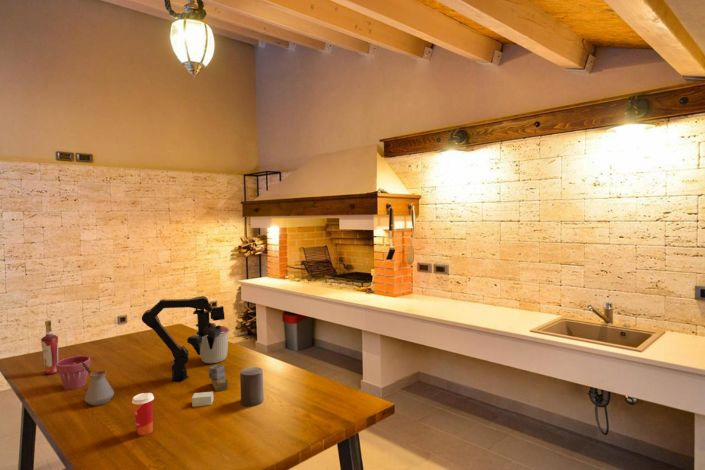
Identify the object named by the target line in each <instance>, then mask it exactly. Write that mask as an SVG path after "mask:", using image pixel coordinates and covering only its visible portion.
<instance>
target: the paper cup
mask: <svg viewBox="0 0 705 470" xmlns="http://www.w3.org/2000/svg"><path fill="white" fill-rule="evenodd" d="M154 399H155V396H154V394H153V393H152V392H145V393H144V392H143V393H138V394H136V395H134V396H133V397H132V400H131V404H132V407H133V415H134V421H135V422H134V423H135V430H136V435H137V436H140V437H141V436H147V435H151V434H152V433H153V431H154Z"/></svg>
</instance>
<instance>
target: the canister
mask: <svg viewBox="0 0 705 470" xmlns="http://www.w3.org/2000/svg"><path fill="white" fill-rule="evenodd" d="M211 323H212V326H213V327H216V326H217V324H216V323H214V322H211ZM220 326H221V331H222V332H220V334H219V336H217V337H216V338H215V341H214V344H213V348H212V349H210V347H209V343H208V339H207V336H206V337H204V338H202V341H201V342H202V344H201V348H200V355H199V356H200V360H202V362H203V363H205V364H219V363H221V362H224V360H226V358H227V356H228V348H229V332H230V330H231V329H230V328H229V327H226V326H224V325H220ZM196 332H198V330H197V331H196ZM195 335H196V334H195ZM196 336H199V335H196Z"/></svg>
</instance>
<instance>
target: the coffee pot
mask: <svg viewBox="0 0 705 470" xmlns="http://www.w3.org/2000/svg"><path fill="white" fill-rule="evenodd" d="M82 364H83V365H84V366H83V367H85V369H86V370H87V371H88V374H89V377H90V378H91V380H90V382H89V385H88V388H87V390H86V393H85V395H84V401H85V402H86V403H87V404H89V405H90V406H101V405H105V404H106V403H108V402H110V400H111V399H112V398H113V397H114V394H115V391H114V389H113V388H112V386H111V385H110V383H109V381H108V380H107V378H106V374H107V371H106V370H99V371H94V372H92V371H91V369H90V367H89V368H88V367H87V366H86V363H82ZM80 366H81V365H80Z"/></svg>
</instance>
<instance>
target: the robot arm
mask: <svg viewBox="0 0 705 470" xmlns="http://www.w3.org/2000/svg"><path fill="white" fill-rule="evenodd" d="M175 308H176V309H181V308H182V309H183V308H191V309H194V311H193V312H192V314H193V315H196V316H197V317H196V319H197V323H196V324H195V327H197V331H198V332H197V331H196V332H195V335H194V334H193V335H190V336H188V337H187V339H186V341H187V344H189V345H191V346H192V348H193V349H194V351H195V352H196V354H197V355H198V356H200V348H201V344H202V342H201V341H202V338H204V337H206V336H207V339H208V343H209V347H210V349H212V348H213V344H214V341H215V338H216V337H217V336H219V334H220V332H222V331H221V326H222V325H220V324H219V325H216V327H213V326H212V323H213V322H210V319H211V320H212V321H223V320H225V319H226V318H225V310H224V309H225V308H224V306H223V305H221V306H215V307H214V306H213V305H212V304H211V303H210V301H209V299H208V297H206V295H202V296H195V297H192V298H183V299H182V298H180V299H179V298H178V299H165V298H164V299H163V298H162V299H160V300H159V301H158V302H157V303H156V304H155V305H154V306H152V307H151V308H150V309H147V310H146V311H144V313H143V314H142V315H141V321H142V323H144V324H145V325H146V326H147V327H149V328H150V329H152V330H153V331H154V332H155V334H156V335H157V336H158V337H159V338H160V339H161V341H162V342H163V343H164V344H165V346H166V347H167V348H168V349H169V350H170V352H171V353H172V354H171V355H172V356H173V360H172V363H171V378H169V381H173V382H183V381H184V380H186V379H188V378H189V377H190V376H189V375H188V373H187V366H186V364H188V361H189V357H190V353H189V352H190V351H189V350H188V349H187V348H186V346H185V344H184V345H182V346H181V345H179V343H177V342H176V341H175V339H174V338H173V336H171V335H170V333H169V332H168V330H167V329H166V328H165V327H164V326H163V324H162V323H161V320H160V318H159V316H158V315H159V314H160V313H161V312H162V311H163V310H165V309H175ZM196 335H199V336H196Z"/></svg>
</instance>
